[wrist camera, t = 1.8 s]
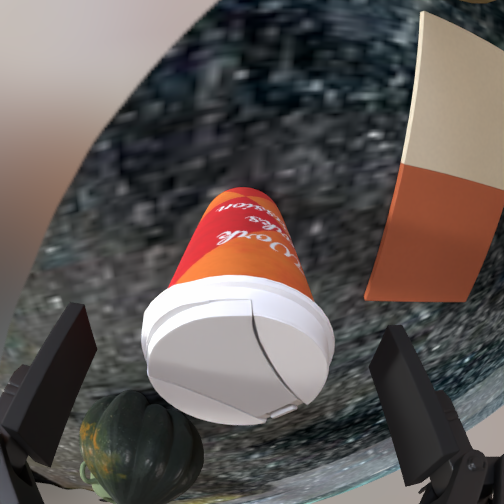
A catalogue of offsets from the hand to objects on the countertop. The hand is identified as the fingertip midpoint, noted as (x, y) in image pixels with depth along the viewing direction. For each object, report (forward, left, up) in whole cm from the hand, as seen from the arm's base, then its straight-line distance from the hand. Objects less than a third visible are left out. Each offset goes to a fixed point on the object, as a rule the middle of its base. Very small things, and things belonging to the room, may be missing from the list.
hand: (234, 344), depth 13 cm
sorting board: (-6, +17, -12) cm, 22 cm away
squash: (+27, -10, -12) cm, 31 cm away
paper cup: (0, 0, -12) cm, 12 cm away
